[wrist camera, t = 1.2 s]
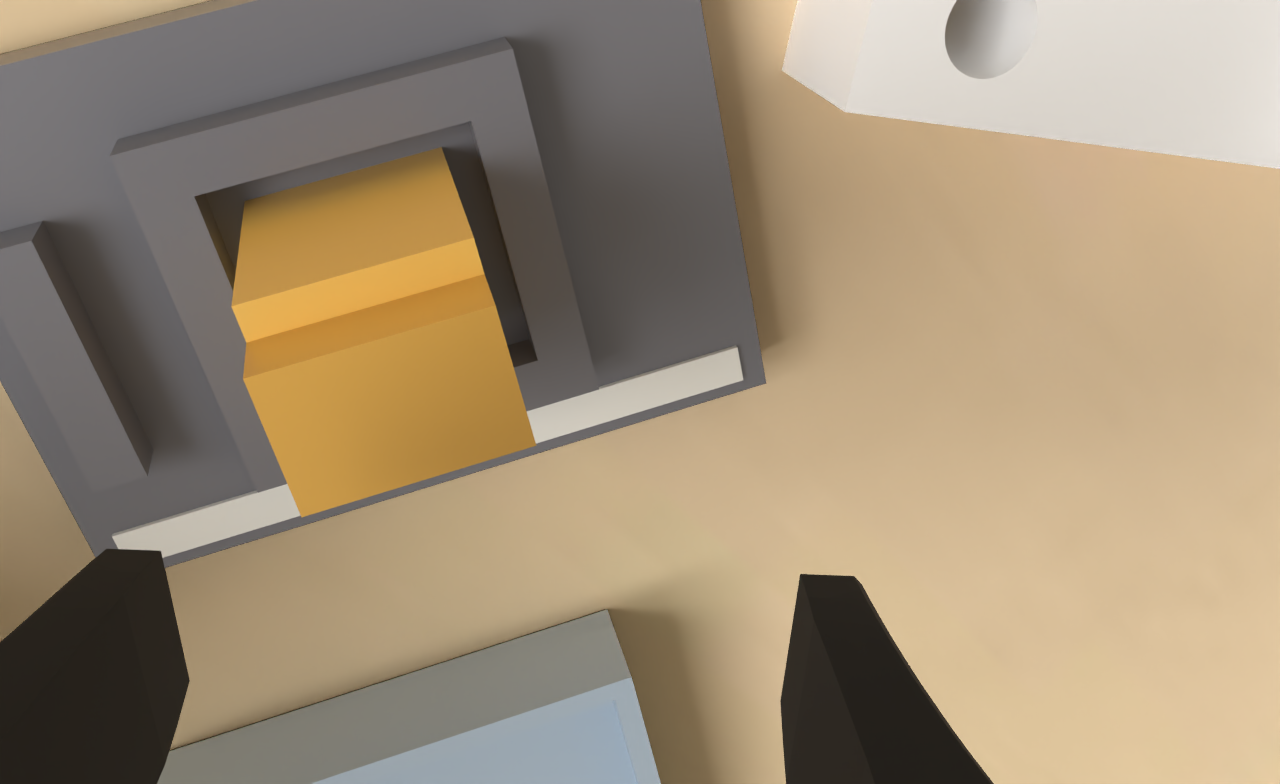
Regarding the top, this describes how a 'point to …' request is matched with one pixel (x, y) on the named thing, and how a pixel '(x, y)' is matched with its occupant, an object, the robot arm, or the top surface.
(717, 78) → the top surface
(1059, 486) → the top surface
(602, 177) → the grey socket base
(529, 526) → the top surface
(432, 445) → the block
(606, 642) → the parts tray
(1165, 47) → the bracket
